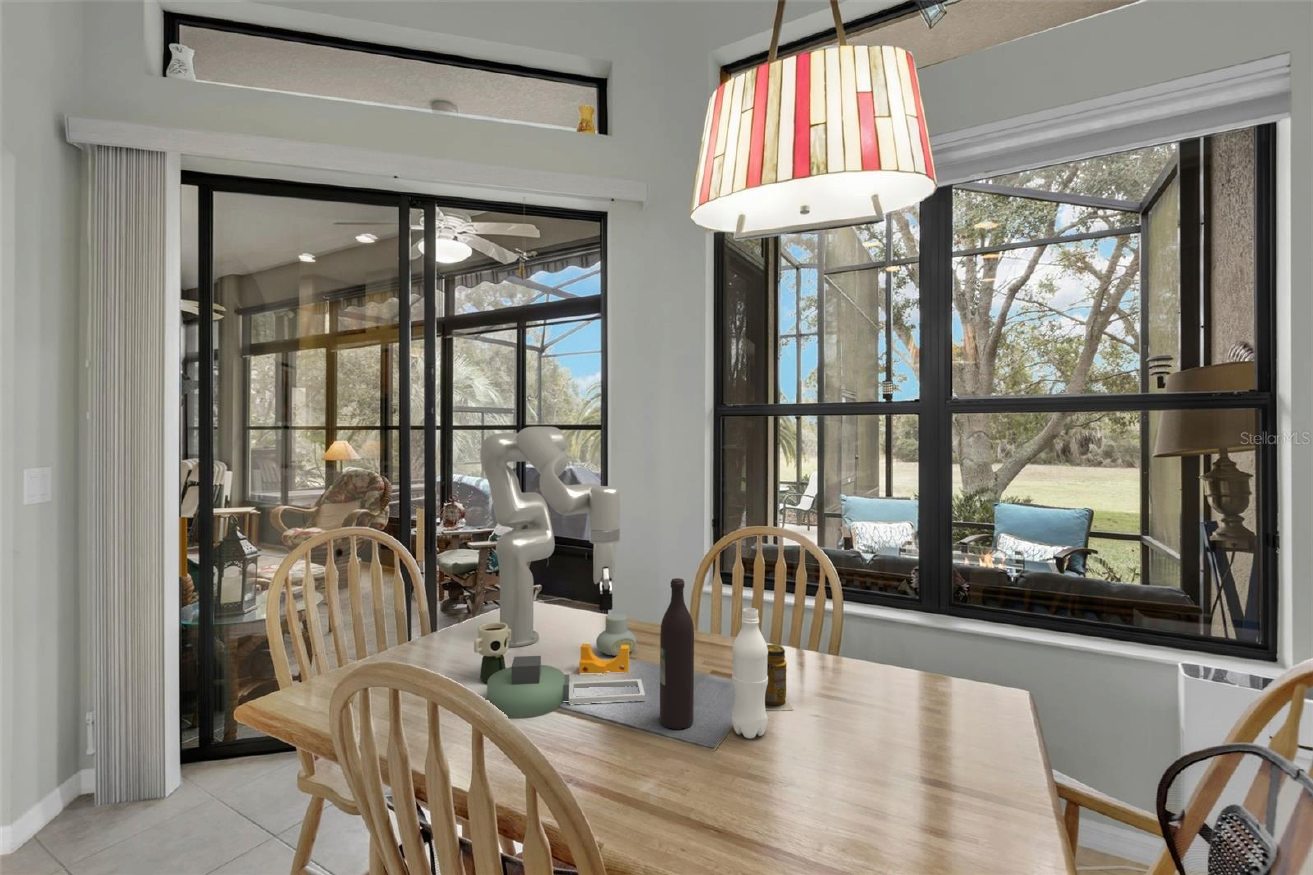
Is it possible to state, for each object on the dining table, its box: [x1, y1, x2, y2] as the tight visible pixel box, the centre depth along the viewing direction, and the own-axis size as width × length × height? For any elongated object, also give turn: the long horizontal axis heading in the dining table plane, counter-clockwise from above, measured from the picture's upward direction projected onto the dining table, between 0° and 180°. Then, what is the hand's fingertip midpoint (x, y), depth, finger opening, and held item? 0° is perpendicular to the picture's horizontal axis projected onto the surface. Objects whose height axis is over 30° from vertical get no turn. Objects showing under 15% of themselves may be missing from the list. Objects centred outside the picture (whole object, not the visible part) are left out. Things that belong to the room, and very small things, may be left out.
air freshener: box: [595, 612, 637, 657], centre depth 171 cm, size 11×8×10 cm
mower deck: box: [486, 655, 646, 719], centre depth 142 cm, size 17×35×9 cm, turn 97°
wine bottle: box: [659, 577, 695, 730], centre depth 131 cm, size 7×7×30 cm
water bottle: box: [731, 607, 769, 739], centre depth 127 cm, size 7×7×25 cm
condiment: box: [765, 644, 794, 712], centre depth 141 cm, size 7×8×12 cm
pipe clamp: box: [578, 643, 630, 674], centre depth 158 cm, size 12×4×6 cm, turn 86°
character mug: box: [473, 621, 511, 683], centre depth 153 cm, size 11×7×13 cm, turn 143°
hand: (604, 604), depth 157 cm, fingers open, 9 cm apart
